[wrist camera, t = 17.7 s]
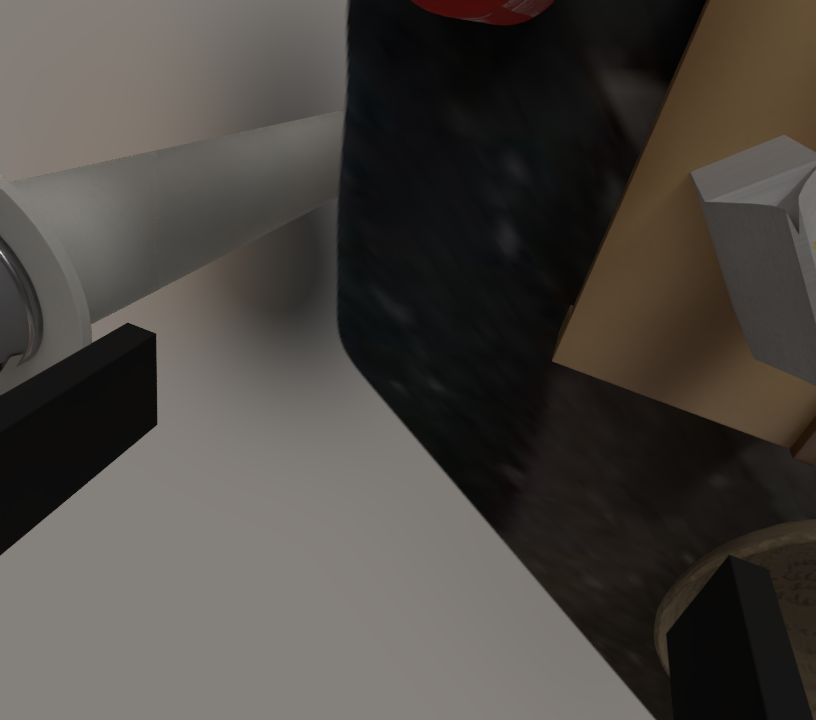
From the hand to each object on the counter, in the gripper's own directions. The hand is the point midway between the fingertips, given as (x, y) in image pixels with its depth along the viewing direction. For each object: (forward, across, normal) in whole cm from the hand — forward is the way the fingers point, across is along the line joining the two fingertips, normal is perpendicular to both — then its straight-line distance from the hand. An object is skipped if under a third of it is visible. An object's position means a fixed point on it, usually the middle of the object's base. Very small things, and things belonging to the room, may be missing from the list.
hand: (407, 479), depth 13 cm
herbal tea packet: (+20, +10, +4) cm, 22 cm away
